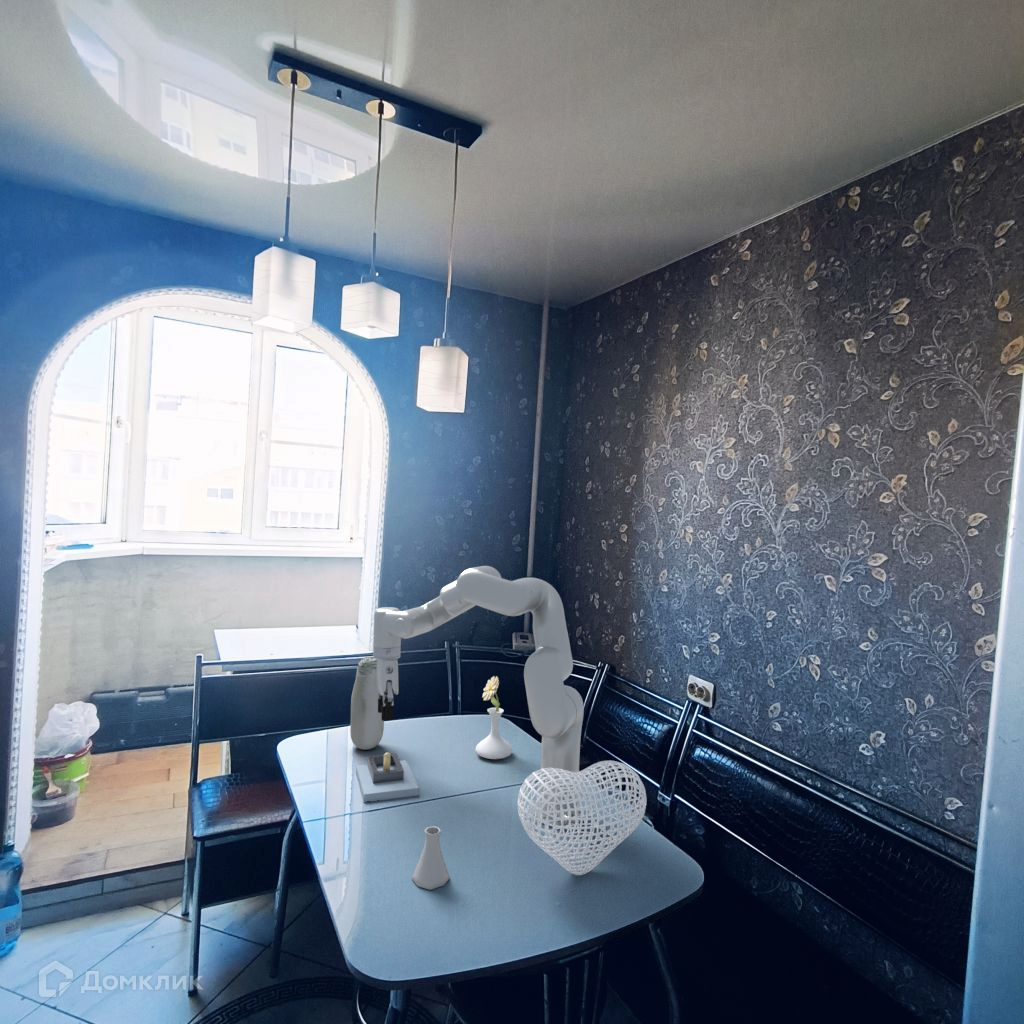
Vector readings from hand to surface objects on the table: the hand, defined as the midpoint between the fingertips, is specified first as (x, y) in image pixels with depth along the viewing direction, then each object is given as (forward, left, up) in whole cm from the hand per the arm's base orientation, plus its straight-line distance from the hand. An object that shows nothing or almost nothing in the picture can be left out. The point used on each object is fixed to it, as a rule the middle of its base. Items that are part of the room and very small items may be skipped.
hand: (385, 715), depth 173 cm
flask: (-52, -2, -16) cm, 55 cm away
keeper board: (-7, 0, -16) cm, 18 cm away
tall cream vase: (+19, +2, -16) cm, 25 cm away
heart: (-59, -32, -16) cm, 69 cm away
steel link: (-5, 0, -14) cm, 15 cm away
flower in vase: (+3, -34, -16) cm, 37 cm away
